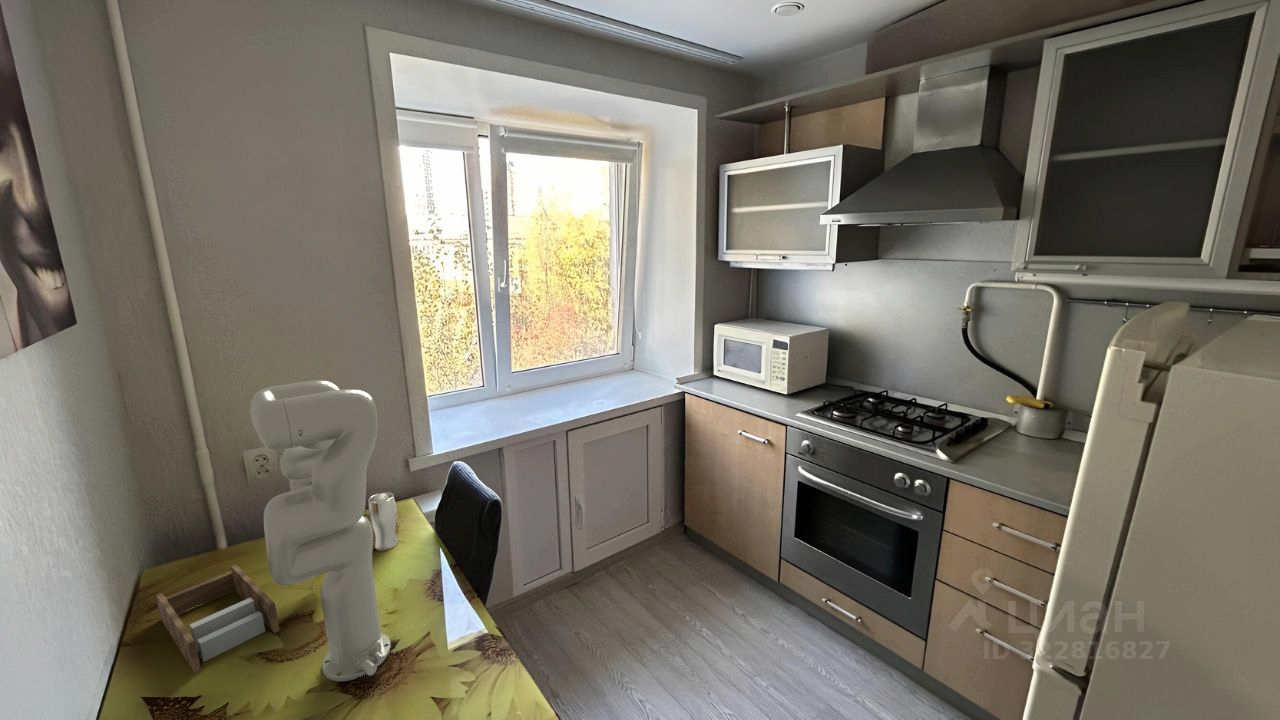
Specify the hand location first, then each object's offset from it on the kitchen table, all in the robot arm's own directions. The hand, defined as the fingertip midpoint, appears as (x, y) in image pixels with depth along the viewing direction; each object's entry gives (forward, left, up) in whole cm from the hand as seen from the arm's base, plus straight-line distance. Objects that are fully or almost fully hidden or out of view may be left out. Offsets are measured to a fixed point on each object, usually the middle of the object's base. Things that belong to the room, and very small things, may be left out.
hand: (319, 551), depth 128 cm
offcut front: (-4, +20, -11) cm, 23 cm away
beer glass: (+8, -20, -11) cm, 24 cm away
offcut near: (+1, +20, -11) cm, 23 cm away
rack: (+6, +20, -11) cm, 23 cm away
